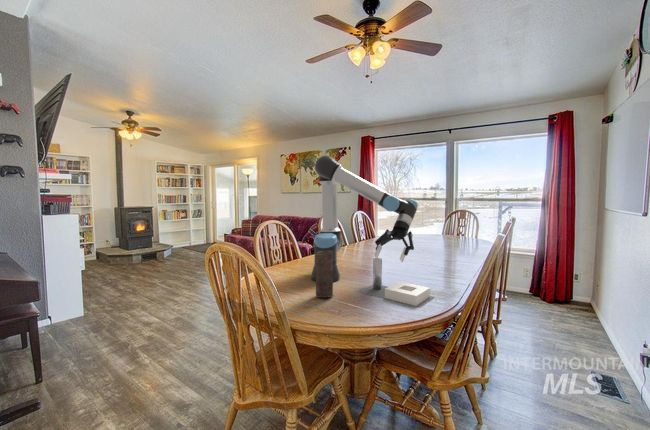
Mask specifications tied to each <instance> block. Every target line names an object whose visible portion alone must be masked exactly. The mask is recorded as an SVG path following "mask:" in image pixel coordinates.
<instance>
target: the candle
mask: <svg viewBox="0 0 650 430" xmlns="http://www.w3.org/2000/svg"><path fill="white" fill-rule="evenodd" d="M333 284H334V282H333V251H318V252H317V253H316V281H315V295H316V297H318V298H324V299H326V298H330V297H331V298H332V297H333V295H334V291H333V290H334V285H333Z"/></svg>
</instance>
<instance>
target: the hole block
mask: <svg viewBox="0 0 650 430" xmlns="http://www.w3.org/2000/svg"><path fill="white" fill-rule="evenodd" d="M387 287H388V288H385V298H387V299H391V300H395V301H399V302H403V303H407V304H411V305H415V306H417V305H419V304H420V303H422V302H423V301H425V300H426V299H428V298H429V297H430V296H431V287H429V286H428V287H427V286H423V285H418V284H414V283H413V284H412V283H409V282H405V281H398V282H396V283H394V284H391V285H390V286H387ZM387 299H386V300H387ZM391 300H390V301H391ZM395 301H394V302H395ZM399 302H398V303H399Z"/></svg>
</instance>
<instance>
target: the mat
mask: <svg viewBox="0 0 650 430" xmlns="http://www.w3.org/2000/svg"><path fill="white" fill-rule="evenodd" d="M388 287H389V286H386V285H383V284H382V289H381V290H375V289H373V284H370V285H368V286H366V287H364V288H361V289H358V290H357V291H356V293H360V294H364V295H367V296H368V295H369V296H371V297H375V298H380V299H384V300H387V301H392V302H394V303H400V304H402V305H403V304H404V305H406V306H411V307H414V308H419V309H421V308H422V307H424V306H426V305H427V304H428V303H429V302H432V301H433V300H434V299H435V298H436V296H431V295H430V297H429V298H428V299H426V300H425V301H423V302H422V303H420V304H419V305H417V306H415V305H411V304H407V303H403V302H399V301H395V300H391V299H387V298H385V288H388Z"/></svg>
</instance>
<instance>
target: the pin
mask: <svg viewBox="0 0 650 430" xmlns="http://www.w3.org/2000/svg"><path fill="white" fill-rule="evenodd" d="M372 260H373V263H372V285H373V289H375V290H381V289H382V285H383V284H382V282H383V281H382V280H383V258H380V257H378V258H376V257H374V258H373V259H372Z"/></svg>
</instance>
